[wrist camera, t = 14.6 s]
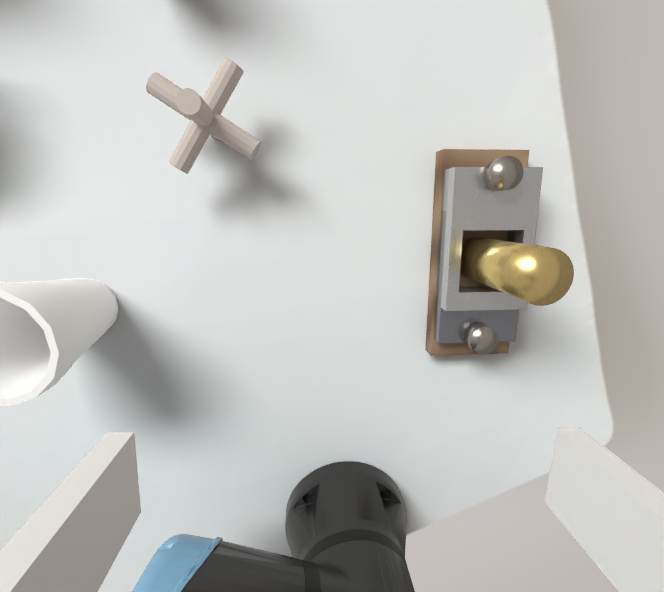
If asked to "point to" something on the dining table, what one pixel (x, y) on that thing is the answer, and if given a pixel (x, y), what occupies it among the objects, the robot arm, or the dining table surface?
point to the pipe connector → (204, 115)
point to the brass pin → (518, 269)
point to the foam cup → (48, 331)
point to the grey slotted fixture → (482, 214)
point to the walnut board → (443, 162)
